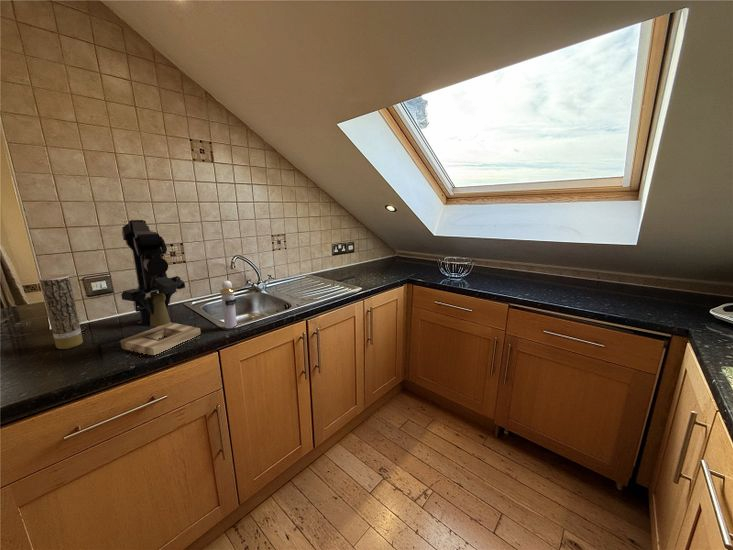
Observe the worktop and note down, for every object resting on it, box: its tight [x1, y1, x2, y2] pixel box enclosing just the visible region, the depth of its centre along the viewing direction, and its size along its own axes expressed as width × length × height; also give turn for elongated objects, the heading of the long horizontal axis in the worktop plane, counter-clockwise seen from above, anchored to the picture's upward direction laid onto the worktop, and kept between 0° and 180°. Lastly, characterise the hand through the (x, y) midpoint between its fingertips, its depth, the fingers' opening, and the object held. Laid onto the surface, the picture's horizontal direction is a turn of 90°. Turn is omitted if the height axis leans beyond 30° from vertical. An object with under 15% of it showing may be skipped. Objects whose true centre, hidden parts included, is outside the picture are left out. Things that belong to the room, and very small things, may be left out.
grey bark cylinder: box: [39, 273, 84, 350], centre depth 101 cm, size 7×7×25 cm
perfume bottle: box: [219, 280, 238, 329], centre depth 119 cm, size 6×6×20 cm
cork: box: [149, 292, 171, 327], centre depth 105 cm, size 6×6×11 cm
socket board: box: [120, 321, 202, 356], centre depth 108 cm, size 16×18×3 cm
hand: (158, 312), depth 106 cm, fingers closed on cork, 4 cm apart
